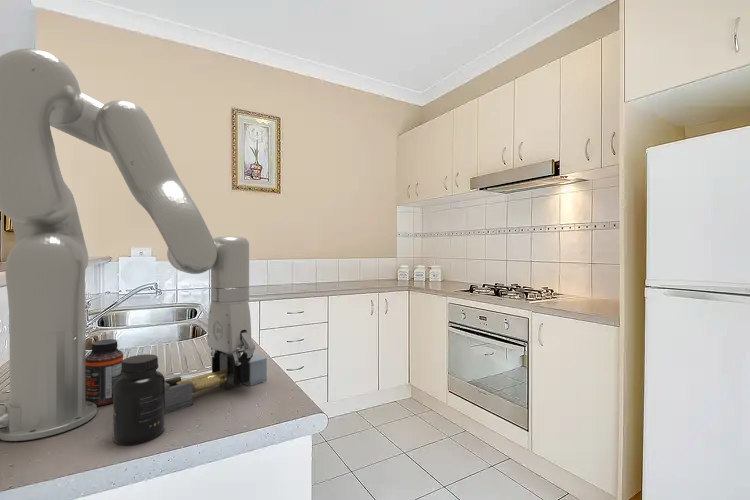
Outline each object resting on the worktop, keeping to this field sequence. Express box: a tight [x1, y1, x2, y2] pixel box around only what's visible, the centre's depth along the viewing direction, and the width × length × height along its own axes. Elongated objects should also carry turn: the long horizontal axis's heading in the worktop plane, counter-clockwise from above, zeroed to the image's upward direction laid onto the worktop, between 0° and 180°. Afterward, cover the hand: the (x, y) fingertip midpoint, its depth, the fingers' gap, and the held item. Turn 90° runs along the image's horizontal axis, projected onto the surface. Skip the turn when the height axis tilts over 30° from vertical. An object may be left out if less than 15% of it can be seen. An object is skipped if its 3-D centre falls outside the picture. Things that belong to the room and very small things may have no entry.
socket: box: [243, 353, 268, 387], centre depth 82 cm, size 4×6×5 cm, turn 51°
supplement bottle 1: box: [86, 338, 124, 407], centre depth 71 cm, size 6×6×11 cm
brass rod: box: [174, 352, 242, 394], centre depth 76 cm, size 16×3×7 cm, turn 141°
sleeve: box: [165, 375, 194, 414], centre depth 67 cm, size 10×6×5 cm, turn 141°
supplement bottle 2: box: [112, 353, 166, 446], centre depth 58 cm, size 7×7×12 cm
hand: (230, 378), depth 78 cm, fingers open, 8 cm apart
